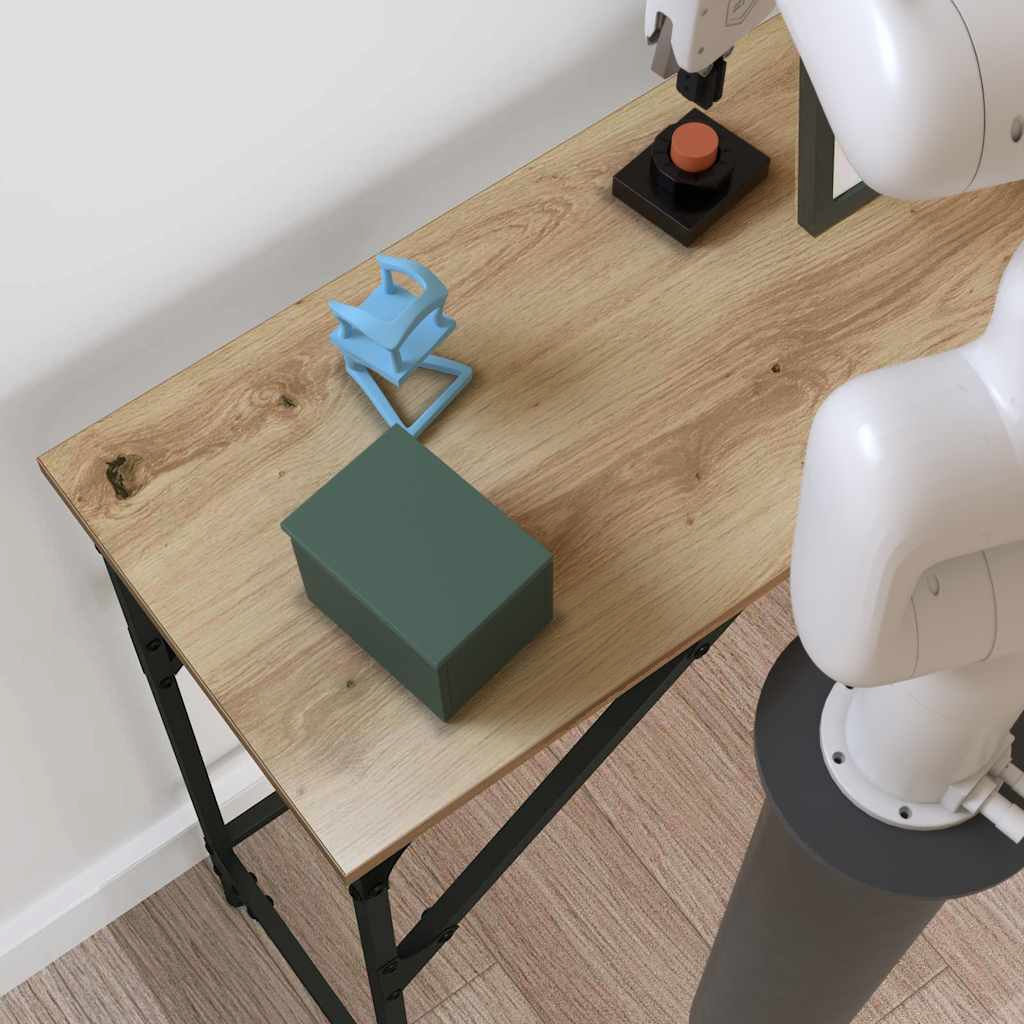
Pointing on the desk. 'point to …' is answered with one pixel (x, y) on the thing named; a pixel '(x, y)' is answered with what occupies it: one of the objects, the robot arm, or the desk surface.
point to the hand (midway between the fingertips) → (698, 94)
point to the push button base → (689, 182)
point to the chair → (398, 338)
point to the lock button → (694, 147)
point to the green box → (428, 684)
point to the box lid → (417, 544)
